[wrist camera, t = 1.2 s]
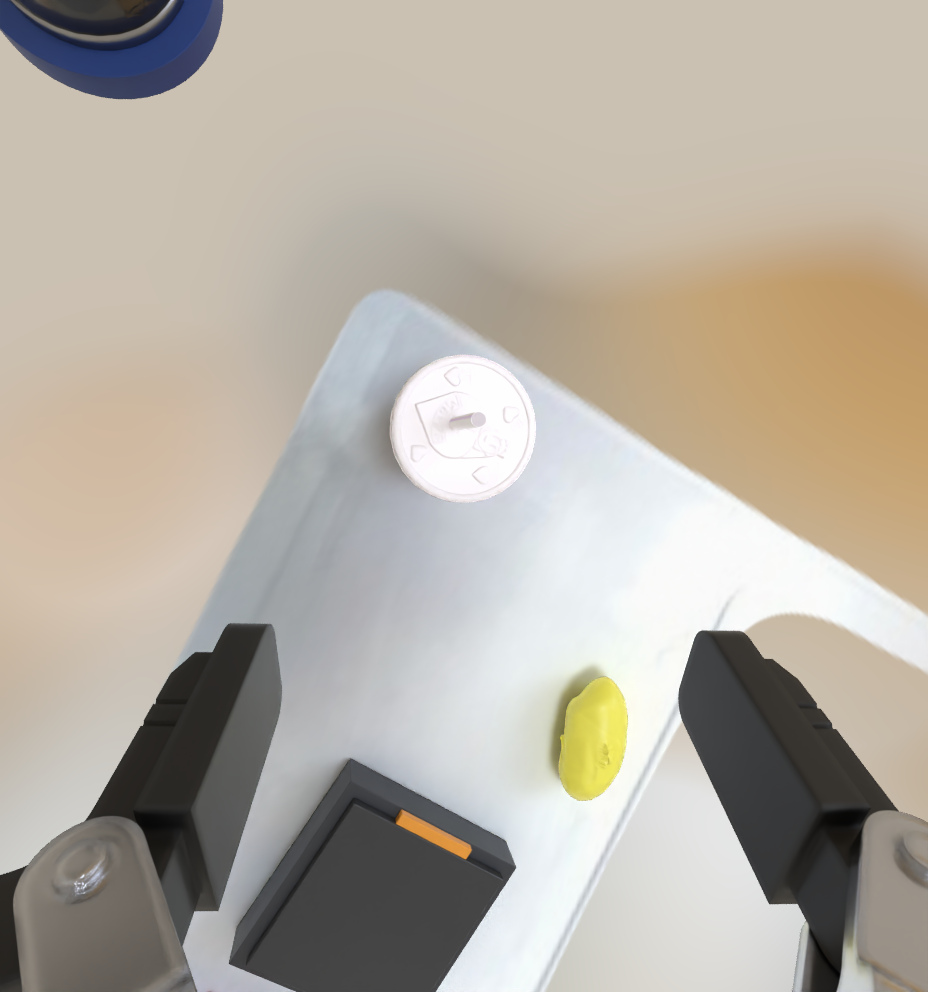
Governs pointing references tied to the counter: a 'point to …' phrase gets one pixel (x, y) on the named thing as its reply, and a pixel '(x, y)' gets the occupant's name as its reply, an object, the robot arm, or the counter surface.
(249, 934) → the scale
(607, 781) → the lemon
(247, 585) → the counter surface
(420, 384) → the smoothie
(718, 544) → the counter surface
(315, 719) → the counter surface
